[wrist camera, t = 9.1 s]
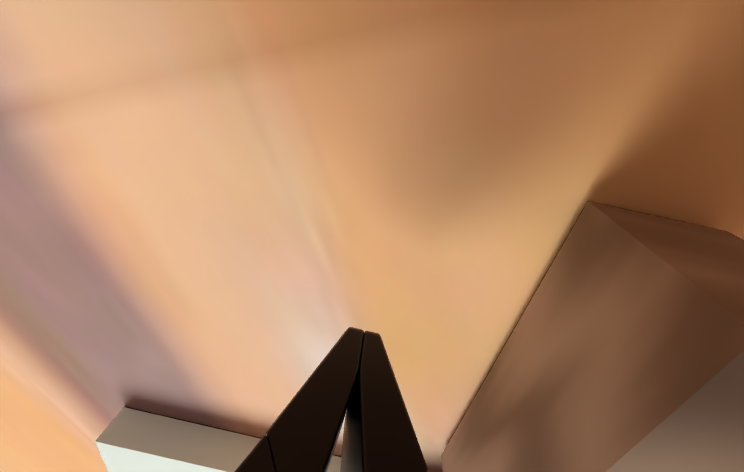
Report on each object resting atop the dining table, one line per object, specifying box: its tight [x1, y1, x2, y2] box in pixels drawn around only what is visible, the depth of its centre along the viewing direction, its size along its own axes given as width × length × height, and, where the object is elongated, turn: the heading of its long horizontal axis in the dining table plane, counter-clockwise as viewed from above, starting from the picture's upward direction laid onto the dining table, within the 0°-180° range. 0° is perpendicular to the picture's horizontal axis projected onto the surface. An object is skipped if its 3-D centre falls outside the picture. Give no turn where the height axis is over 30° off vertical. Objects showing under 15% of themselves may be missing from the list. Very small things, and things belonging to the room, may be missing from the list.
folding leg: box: [442, 201, 744, 472], centre depth 10 cm, size 16×4×5 cm, turn 169°
